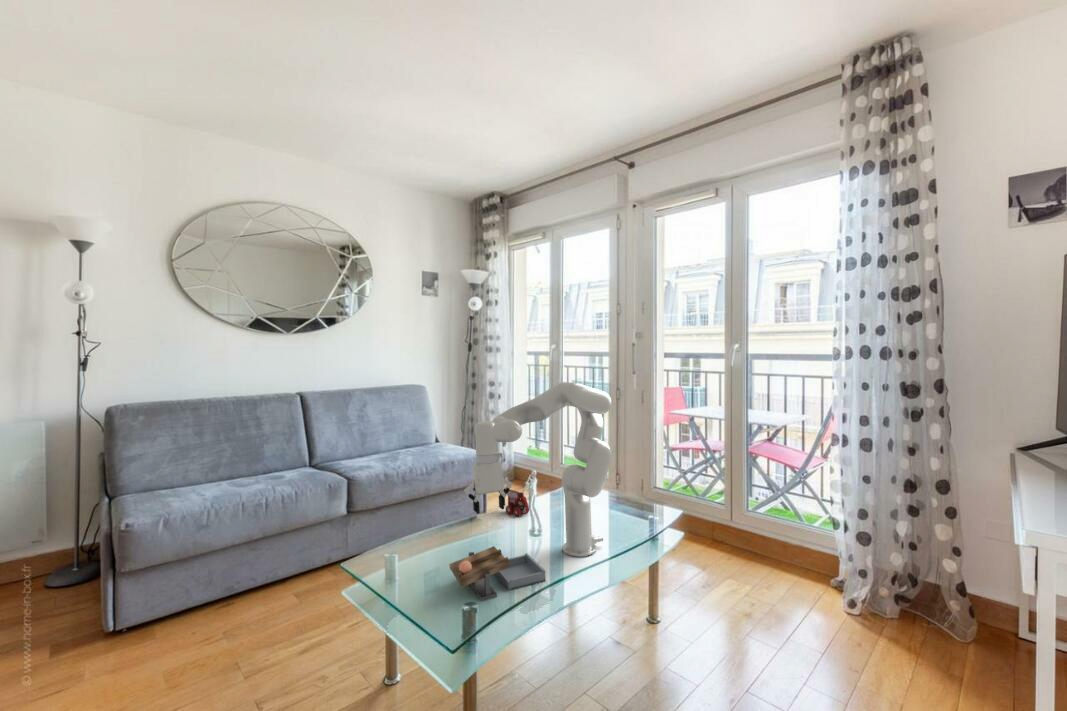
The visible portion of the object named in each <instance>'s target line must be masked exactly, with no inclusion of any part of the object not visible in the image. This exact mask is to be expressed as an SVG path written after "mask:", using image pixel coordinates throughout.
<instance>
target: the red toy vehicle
mask: <svg viewBox="0 0 1067 711" xmlns="http://www.w3.org/2000/svg"><path fill="white" fill-rule="evenodd" d="M506 496H507V505H505V506H506V507H505V513H506V514H507V515H512V514H513V515H514V517H516V518H519V517H521V515H522V514H525V515H526V514H529V512H530V508H529V507H530V506H529V503H528V501H527V498H526V496H525V493H524V492H523V491H517V490H513V489H509V492H508V493H507V494H506Z"/></svg>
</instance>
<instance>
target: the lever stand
mask: <svg viewBox="0 0 1067 711" xmlns="http://www.w3.org/2000/svg"><path fill="white" fill-rule="evenodd" d="M473 554H475V552H474V551H469V552H468V556H471V555H473ZM469 586H470V587H471V588H472V589H473V591H474V593H475V595H477V597H478V599H479V600H480V601H481V602H483V601H488V600H490V599H495V598H497V597H498V596H497V592H496V591H495V590H494V588H493V587H492V583H491V575H490V572H486V573H484V578H483V579H480V580H478V581H476V582H473V583H471V584H469Z"/></svg>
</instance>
